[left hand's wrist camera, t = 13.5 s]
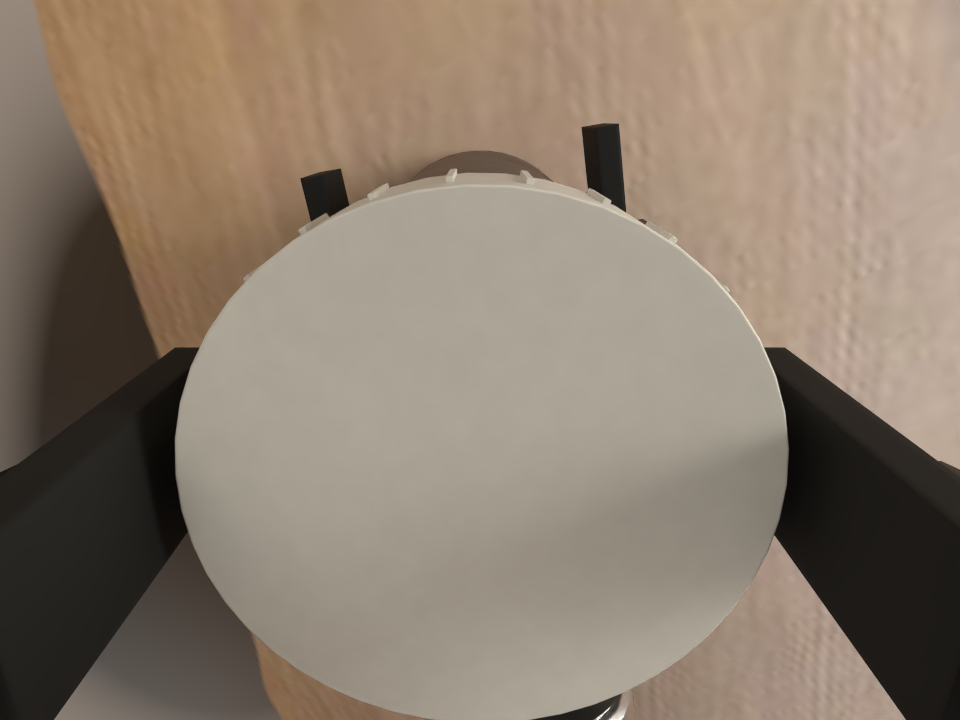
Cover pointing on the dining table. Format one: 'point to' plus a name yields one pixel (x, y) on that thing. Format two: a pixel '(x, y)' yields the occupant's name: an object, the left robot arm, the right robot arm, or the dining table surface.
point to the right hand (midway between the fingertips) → (458, 150)
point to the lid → (481, 449)
